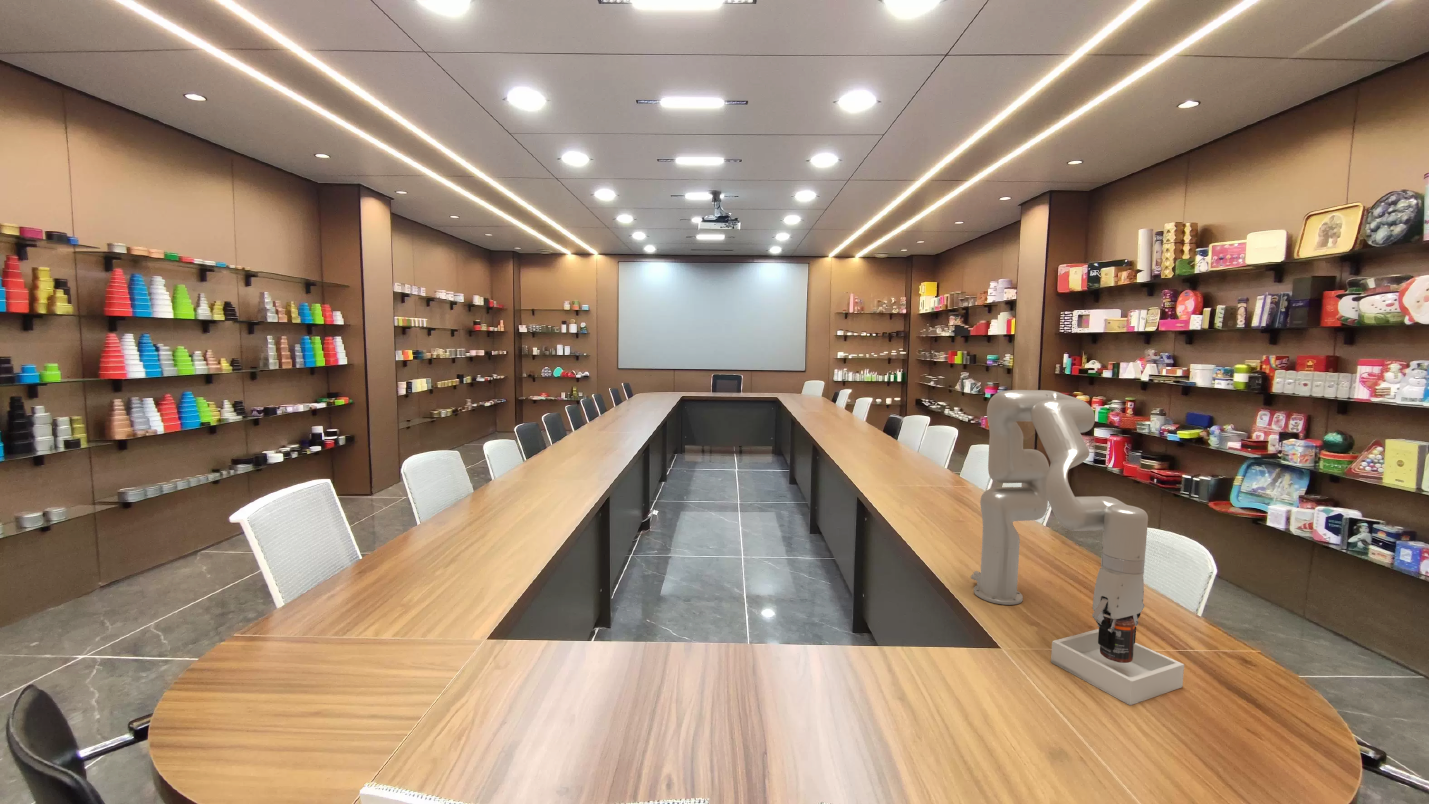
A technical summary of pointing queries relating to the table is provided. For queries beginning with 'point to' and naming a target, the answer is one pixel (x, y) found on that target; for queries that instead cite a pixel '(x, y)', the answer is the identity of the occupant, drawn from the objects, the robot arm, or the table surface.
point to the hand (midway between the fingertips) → (1116, 643)
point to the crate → (1118, 668)
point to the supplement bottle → (1121, 641)
